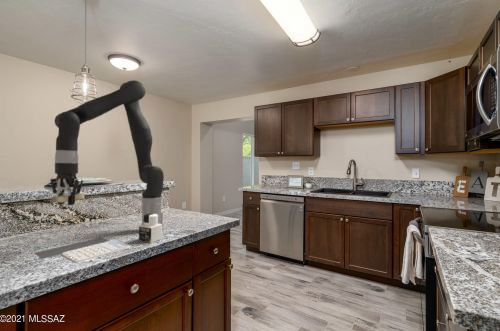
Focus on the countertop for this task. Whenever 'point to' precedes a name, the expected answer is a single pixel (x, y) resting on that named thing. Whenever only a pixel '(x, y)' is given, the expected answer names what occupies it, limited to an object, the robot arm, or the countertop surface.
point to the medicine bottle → (150, 229)
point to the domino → (65, 198)
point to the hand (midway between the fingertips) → (66, 204)
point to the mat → (69, 248)
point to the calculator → (94, 250)
